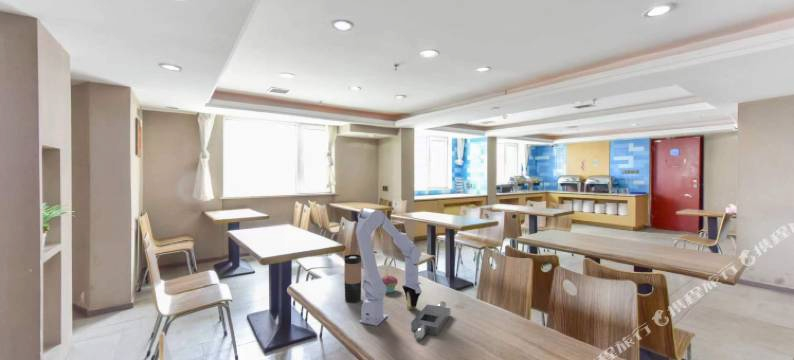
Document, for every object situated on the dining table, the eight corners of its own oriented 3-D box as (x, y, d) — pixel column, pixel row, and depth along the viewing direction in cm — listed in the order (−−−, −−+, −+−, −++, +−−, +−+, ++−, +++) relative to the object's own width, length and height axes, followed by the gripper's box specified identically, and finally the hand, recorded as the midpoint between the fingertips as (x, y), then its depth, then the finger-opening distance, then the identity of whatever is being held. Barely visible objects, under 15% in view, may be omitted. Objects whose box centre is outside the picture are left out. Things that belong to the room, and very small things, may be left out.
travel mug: (362, 296, 157) (362, 254, 156) (359, 303, 150) (359, 258, 149) (346, 296, 158) (346, 254, 157) (342, 302, 150) (342, 258, 150)
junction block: (431, 343, 115) (431, 335, 115) (404, 337, 119) (404, 329, 119) (454, 310, 143) (454, 303, 142) (431, 306, 147) (431, 299, 147)
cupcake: (390, 295, 159) (390, 270, 159) (376, 291, 164) (376, 267, 164) (401, 290, 166) (401, 266, 166) (387, 286, 171) (387, 263, 171)
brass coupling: (414, 311, 141) (414, 294, 141) (405, 309, 143) (405, 293, 143) (417, 307, 145) (417, 291, 145) (409, 306, 147) (409, 290, 146)
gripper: (427, 276, 138) (427, 309, 139) (413, 267, 152) (413, 296, 152) (411, 278, 136) (411, 312, 136) (398, 268, 149) (398, 299, 150)
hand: (411, 304), depth 144 cm, fingers closed on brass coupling, 4 cm apart
